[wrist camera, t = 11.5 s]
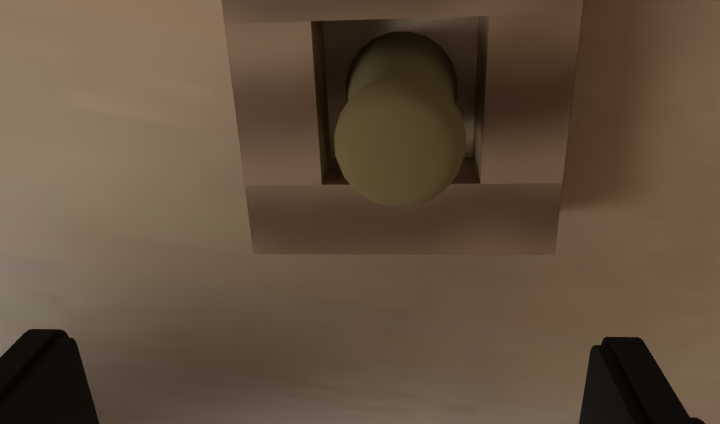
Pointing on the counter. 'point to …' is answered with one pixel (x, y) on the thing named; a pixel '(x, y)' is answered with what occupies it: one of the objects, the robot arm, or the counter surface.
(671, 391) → the robot arm
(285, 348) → the counter surface
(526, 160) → the socket block
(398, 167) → the cork
